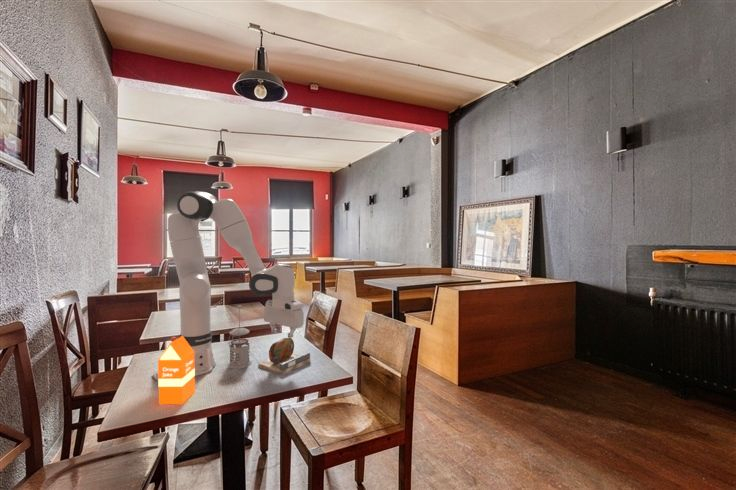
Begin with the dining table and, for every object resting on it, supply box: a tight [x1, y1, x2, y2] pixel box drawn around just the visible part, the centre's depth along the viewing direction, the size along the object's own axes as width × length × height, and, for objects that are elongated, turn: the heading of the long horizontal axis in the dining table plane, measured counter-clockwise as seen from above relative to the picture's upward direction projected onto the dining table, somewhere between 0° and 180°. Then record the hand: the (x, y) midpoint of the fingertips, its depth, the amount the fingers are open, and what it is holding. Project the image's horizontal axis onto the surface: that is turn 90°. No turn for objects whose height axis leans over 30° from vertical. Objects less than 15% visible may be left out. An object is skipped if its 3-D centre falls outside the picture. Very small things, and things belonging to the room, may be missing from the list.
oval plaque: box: [268, 337, 295, 364], centre depth 149 cm, size 15×3×8 cm, turn 159°
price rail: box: [280, 352, 311, 371], centre depth 145 cm, size 16×1×2 cm, turn 147°
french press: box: [227, 304, 253, 370], centre depth 148 cm, size 10×12×25 cm
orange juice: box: [157, 336, 196, 405], centre depth 118 cm, size 8×9×20 cm
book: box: [257, 353, 311, 375], centre depth 148 cm, size 16×14×2 cm
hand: (282, 335), depth 148 cm, fingers open, 8 cm apart
